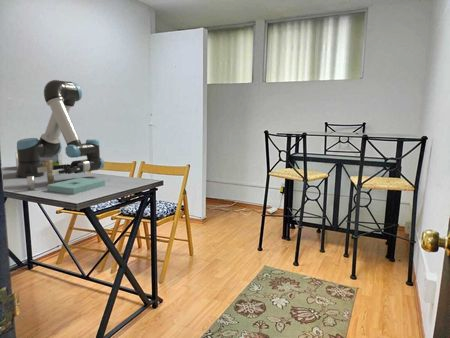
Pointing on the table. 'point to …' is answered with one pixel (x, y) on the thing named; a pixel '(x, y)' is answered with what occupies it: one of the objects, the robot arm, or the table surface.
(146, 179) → the table surface
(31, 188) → the short pin
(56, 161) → the snack box
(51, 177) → the tall pin
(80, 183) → the hole plate
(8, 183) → the table surface
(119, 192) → the table surface
